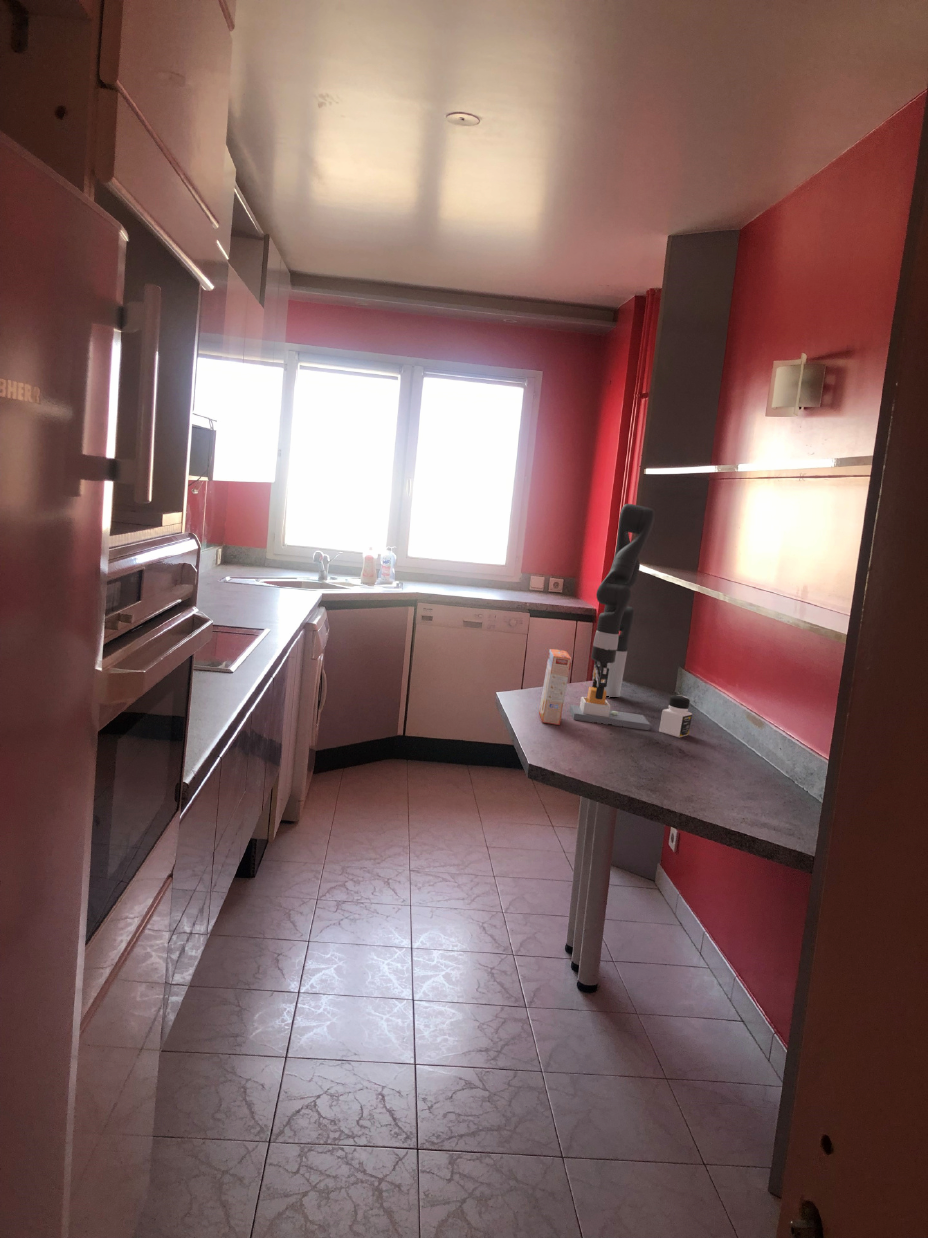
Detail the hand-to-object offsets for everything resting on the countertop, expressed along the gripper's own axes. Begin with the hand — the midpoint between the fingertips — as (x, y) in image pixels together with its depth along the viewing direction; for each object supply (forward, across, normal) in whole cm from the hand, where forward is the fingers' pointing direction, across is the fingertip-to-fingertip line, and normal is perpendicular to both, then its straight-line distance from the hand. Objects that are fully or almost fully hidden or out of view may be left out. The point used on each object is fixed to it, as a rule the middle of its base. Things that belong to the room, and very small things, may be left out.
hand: (596, 695), depth 286 cm
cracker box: (+8, +10, -15) cm, 20 cm away
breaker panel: (+7, 0, +5) cm, 9 cm away
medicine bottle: (+8, +5, +25) cm, 27 cm away
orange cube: (+3, 0, 0) cm, 3 cm away
